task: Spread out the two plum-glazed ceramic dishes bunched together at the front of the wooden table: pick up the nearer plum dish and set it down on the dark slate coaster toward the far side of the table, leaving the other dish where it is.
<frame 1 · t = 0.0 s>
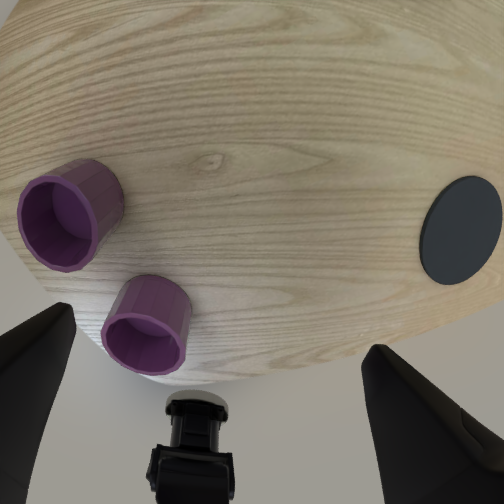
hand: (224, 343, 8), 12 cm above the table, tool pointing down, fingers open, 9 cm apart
plum dish stays: (85, 201, 18), on the table
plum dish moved: (154, 307, 22), on the table
coaster: (463, 232, 21), on the table
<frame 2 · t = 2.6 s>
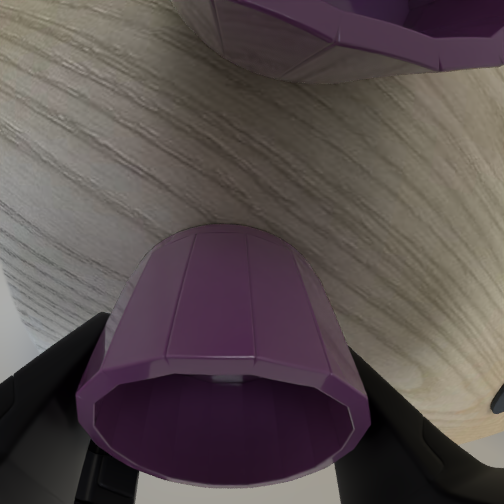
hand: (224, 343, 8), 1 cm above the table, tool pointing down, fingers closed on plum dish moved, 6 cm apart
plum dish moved: (224, 315, 9), on the table, touching gripper
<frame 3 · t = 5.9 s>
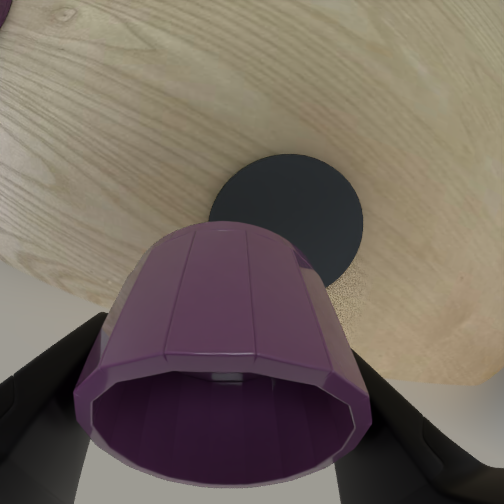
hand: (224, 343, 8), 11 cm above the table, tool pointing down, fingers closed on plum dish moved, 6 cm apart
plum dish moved: (224, 313, 9), point 10 cm above the table, touching gripper
coaster: (287, 232, 19), on the table
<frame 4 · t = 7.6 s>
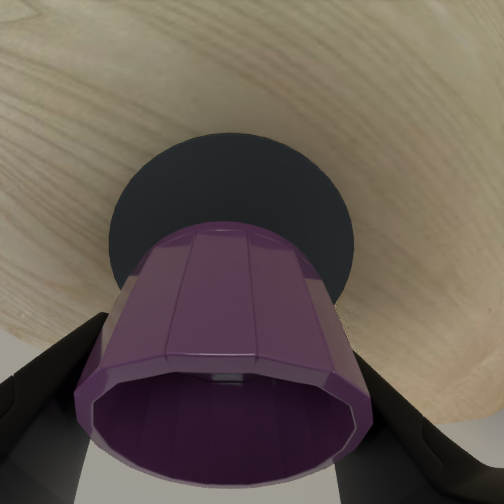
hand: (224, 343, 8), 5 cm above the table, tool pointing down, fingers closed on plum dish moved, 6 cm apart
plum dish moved: (225, 313, 9), point 4 cm above the table, touching gripper
coaster: (230, 259, 12), on the table
when the fingers open (2 cm above the table, at t = 9.0 s): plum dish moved stays where it is, resting on coaster.
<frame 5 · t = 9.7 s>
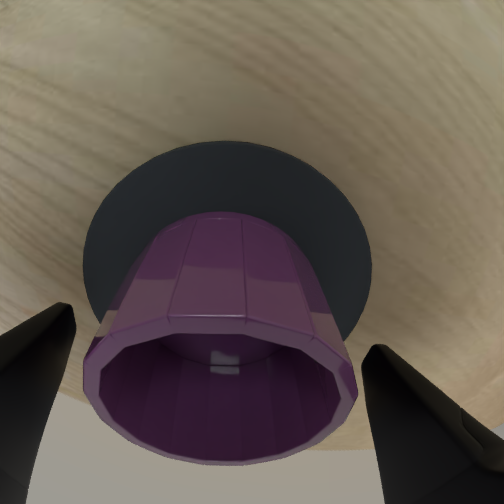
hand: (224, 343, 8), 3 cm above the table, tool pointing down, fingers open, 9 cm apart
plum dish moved: (222, 298, 10), resting on coaster
coaster: (225, 292, 10), on the table
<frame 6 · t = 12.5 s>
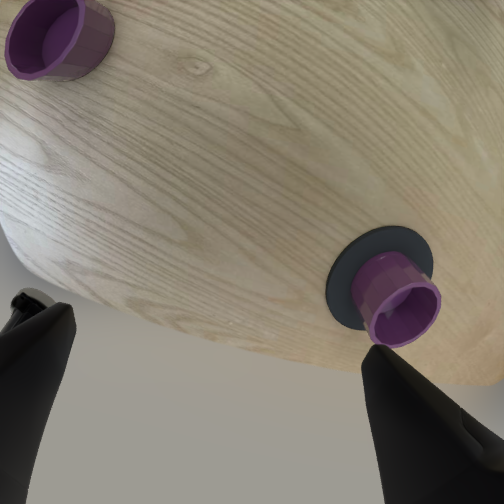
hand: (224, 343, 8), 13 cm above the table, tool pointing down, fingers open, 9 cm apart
plum dish stays: (76, 40, 13), on the table
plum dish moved: (383, 283, 23), resting on coaster
coaster: (382, 281, 23), on the table
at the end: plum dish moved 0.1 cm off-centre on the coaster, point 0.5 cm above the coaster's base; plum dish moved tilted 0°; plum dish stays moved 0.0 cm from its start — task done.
